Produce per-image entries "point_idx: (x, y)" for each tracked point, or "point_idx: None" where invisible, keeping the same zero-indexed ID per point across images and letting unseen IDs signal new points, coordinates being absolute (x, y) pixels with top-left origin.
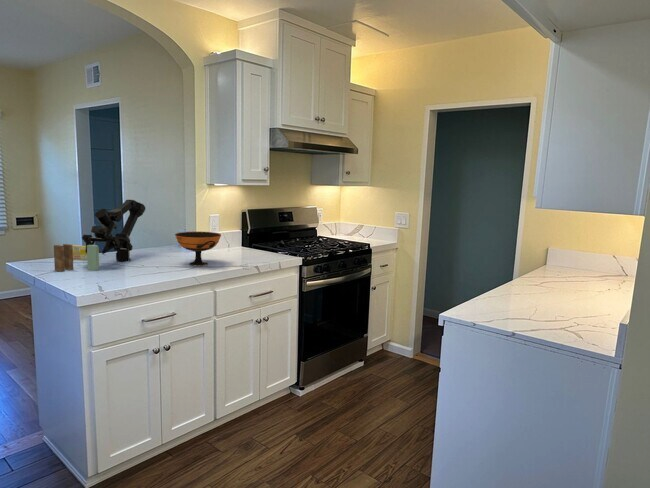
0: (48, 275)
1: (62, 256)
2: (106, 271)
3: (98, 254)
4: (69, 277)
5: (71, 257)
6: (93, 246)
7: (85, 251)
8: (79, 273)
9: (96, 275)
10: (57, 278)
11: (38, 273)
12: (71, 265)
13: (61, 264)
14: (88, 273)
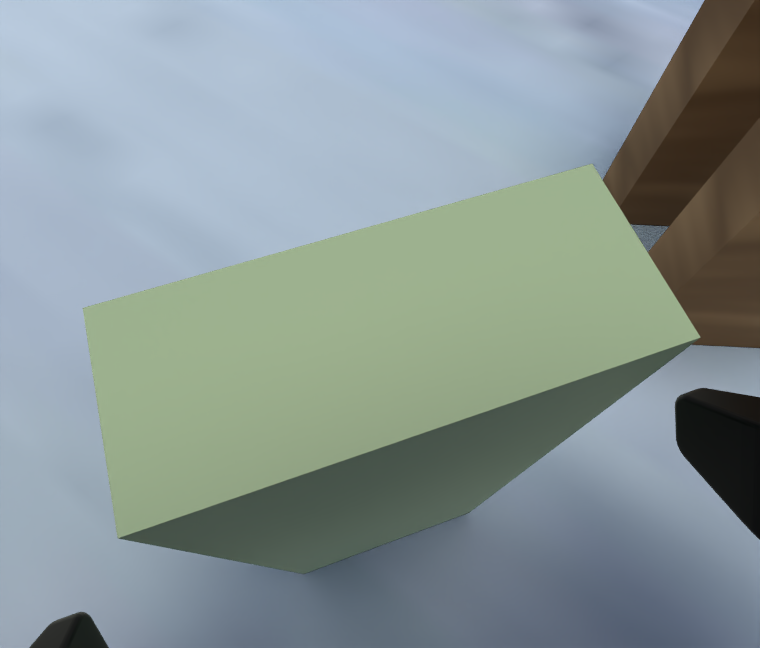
0: (496, 26)
1: (719, 23)
2: (93, 571)
3: (246, 562)
4: (234, 75)
5: (732, 203)
6: (236, 281)
7: (705, 389)
8: None
9: (28, 289)
10: (296, 3)
11: (666, 25)
12: None
13: (646, 120)
14: None
